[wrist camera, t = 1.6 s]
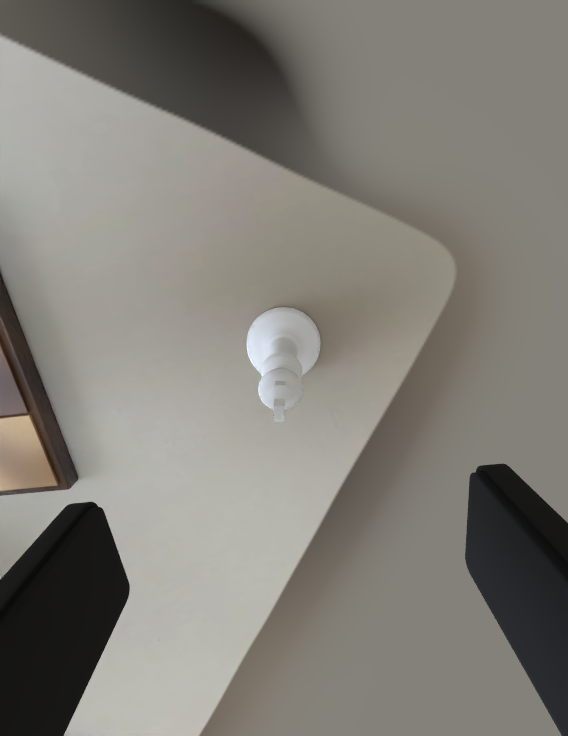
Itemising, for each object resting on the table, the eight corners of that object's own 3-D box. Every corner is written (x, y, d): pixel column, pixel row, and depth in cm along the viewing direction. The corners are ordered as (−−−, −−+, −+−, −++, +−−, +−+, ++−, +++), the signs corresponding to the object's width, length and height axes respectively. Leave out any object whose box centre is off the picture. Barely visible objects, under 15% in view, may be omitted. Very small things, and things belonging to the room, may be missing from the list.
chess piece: (323, 309, 22) (348, 353, 12) (317, 380, 24) (335, 467, 14) (247, 305, 22) (214, 347, 12) (246, 376, 24) (217, 461, 14)
